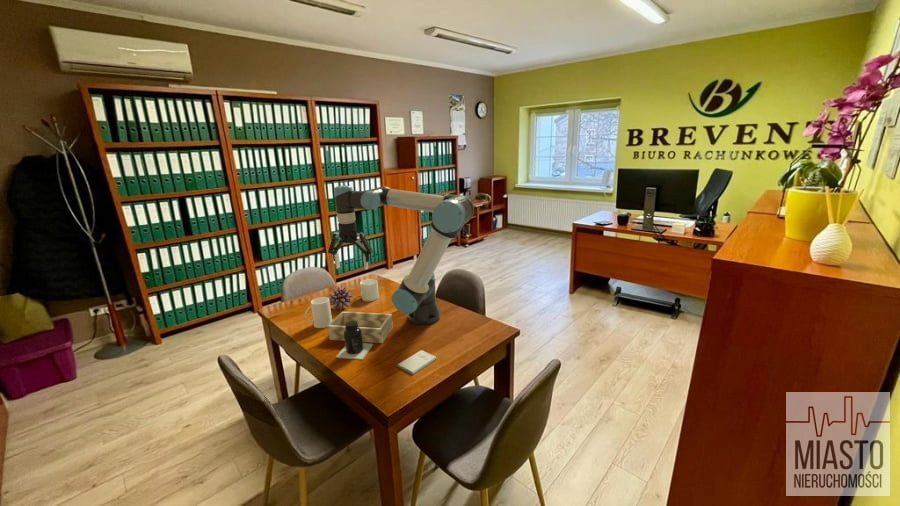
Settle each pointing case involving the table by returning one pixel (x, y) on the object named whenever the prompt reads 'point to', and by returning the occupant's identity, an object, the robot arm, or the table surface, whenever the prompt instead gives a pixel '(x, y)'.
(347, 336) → the supplement bottle
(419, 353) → the external hard drive
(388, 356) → the table surface
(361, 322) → the crate
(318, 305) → the mug
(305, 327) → the table surface
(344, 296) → the purple spiky ball
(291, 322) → the table surface
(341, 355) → the pad
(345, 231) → the robot arm
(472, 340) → the table surface
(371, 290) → the mug
